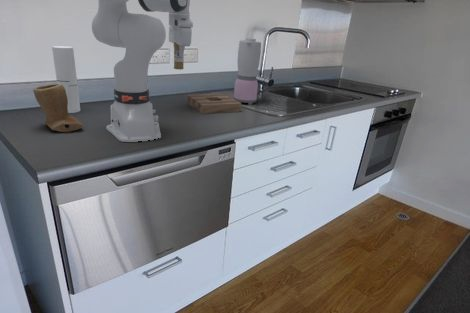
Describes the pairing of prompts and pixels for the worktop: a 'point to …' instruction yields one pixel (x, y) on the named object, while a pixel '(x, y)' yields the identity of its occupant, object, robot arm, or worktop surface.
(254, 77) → the blender
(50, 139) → the worktop surface
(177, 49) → the sprinkles bottle
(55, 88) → the tan boot vase
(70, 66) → the cylindrical container
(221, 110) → the socket block
